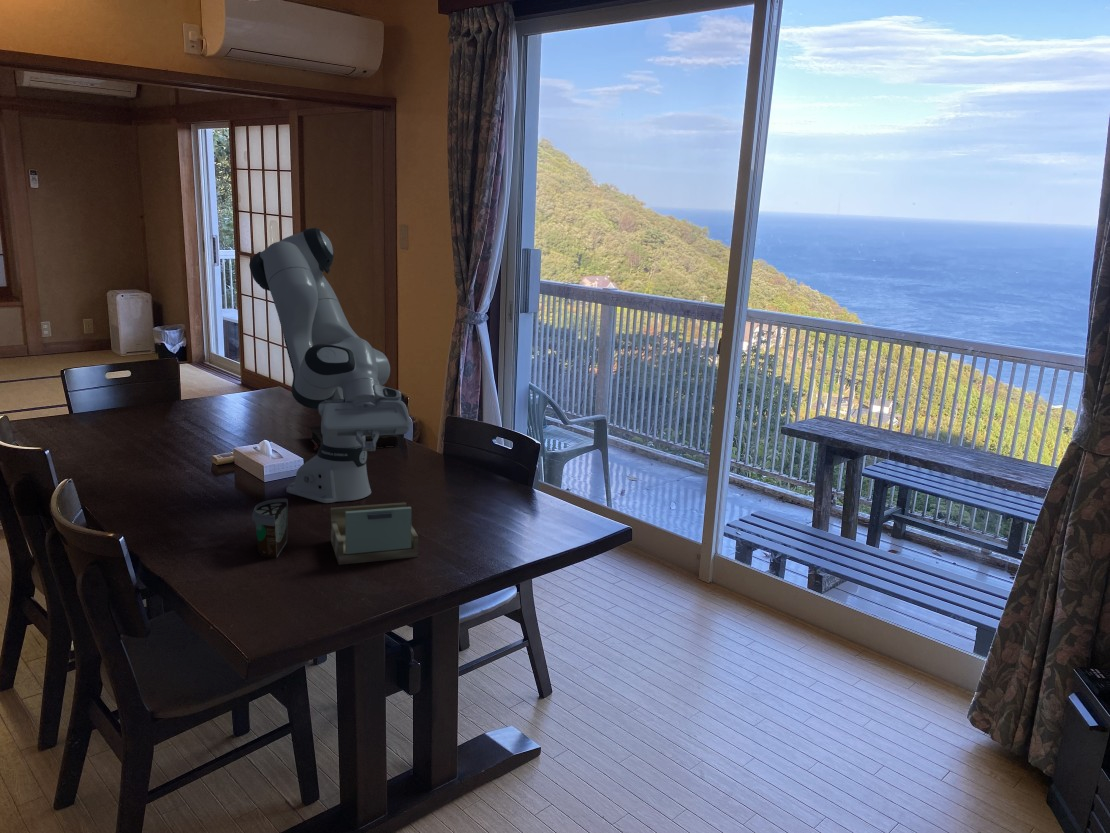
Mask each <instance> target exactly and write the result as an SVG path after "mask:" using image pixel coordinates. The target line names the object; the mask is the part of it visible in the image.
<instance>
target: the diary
mask: <svg viewBox="0 0 1110 833" xmlns="http://www.w3.org/2000/svg"><path fill="white" fill-rule="evenodd" d="M308 428H309V429H310V431H311V435H312V437H311V439H313V440H314V441H315V442H316V443H317V444H319V443H320V442H322V441H323V435H322V433H321V425H315V426H314V425H313V426H311V425H310V426H308ZM398 439H399V438H398V434H395V435H379V437H378V440H377V442H376V448H377V447H386V446H397V447H398V445H399V443H398V442H399V440H398ZM365 441H373V439H372V435H370V436H365Z"/></svg>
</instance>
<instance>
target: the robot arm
mask: <svg viewBox="0 0 1110 833" xmlns="http://www.w3.org/2000/svg"><path fill="white" fill-rule="evenodd" d="M334 256H335V253H334V248H333V245H332V242H331V240H330V239H329V237H328V236H327V235H326V234H325V233H324V232H323V231H322V229H319V228H317V227H311V228H306V229H304V230H303V231H301V232H298V233H295V234H292V235H289V236H286V237H284V238H283V239H280V240H279V241H276V242H273V243H271V244H270V245H268V247H266V248H265V249H264V250H263V251H259V252H257V253H256V254H254V255H253V256H252V257H251V258H250V260H249V263H248V264H249V269H250V274H251V276H252V278H253V281H255V283H256V284H257V285H258V286H259V287H260V288H261V289H263V290H265V291H269V292H270V295H271V298H272V301H273V303H274V306H275V310H276V313H277V316H278V320H279V325H280V326H281V330H282V334H283V340H284V344H285V347H286V351H287V355H288V360H289V362H290V368H291V371H292V383H291V396H292V397H293V399H294V400H295V401H296V402H297V403H299V404H300V405H301V406H303V407H305V408H307V409H312V410H313V409H314V410H316V409H317V410H318V414H319V416H320V417H321V422H320V423H321V424H320V426H321V433H322V435H323V441H322V442H320V443H319V444H317V445H315V446H314V445H313V447H314V448H313V450H314V451H315V450H317V453H316V455H314V456H313V457H311V458H310V459H309V460H307V461H306V462H305V463H303V464H302V465H300V466H299V467H298V469H297V471H296V474H295V480H294V481H292V483H290V484H289V485H287V486H286V493H288V494H291V495H295V496H298V497H302V498H305V499H308V500H312V501H316V502H319V503H323V504H329V503H336V502H337V503H338V502H349V501H357V500H361V499H364V498H366V497H369V496H370V495H371V494H372V489H371V486H370V482H369V477H368V470H367V468H368V467H367V461H368V452H376V442H377V440H378V437H379V435H395V434H396V435H406V434H408V432H409V431H410V428H411V418H410V415H409V411H408V407H407V405H406V403H405V402H403V401H402V392H401V391H400V390H398V389H394V388H390V387H387V386H383V385H385V384H387V382H388V380H389V378H390V374H391V365H390V362H389V359H388V357H387V356H386V355H385V353H383V352H382V351H380V350H378V349H376V348H374V347H372V345H371V344H370V342H369V341H367V340H366V339H363V338H361V337H360V336H359V335H358V334H357V333H356V332H355V331H354V330H353V328H352V327H351V326H350V324H349V321H348V319H347V318H346V315H345V313H344V311H343V308H342V306H341V304H340V301H339V298H338V297H337V295H336V293H335V290H334V289H333V287H332V286H331V284H330V283H329V281H328V279H327V278H326V277H325V275H324V272H325V273H326V274H329V273H330V271H331V268H330V267H331V266H332V264H333V262H334V258H335V257H334ZM370 435H372V439H373V441H365V436H370Z"/></svg>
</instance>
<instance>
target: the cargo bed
mask: <svg viewBox="0 0 1110 833" xmlns="http://www.w3.org/2000/svg"><path fill="white" fill-rule="evenodd" d="M398 507H408V505H407V502H404V501H403V502H394V503H380V504H378V503H377V504H366V505H365V504H364V505H353V506H339V507H338V506H337V507H330V542H331V546H332V548H333V551H334V555H335V558H336V561H337V564H338V565H339V566H340V565H348V564H349V565H350V564H361V563H369V562H380V561H390V560H399V559H411V558H418V557H419V535H418V533H417V532H416V530H415V528H414V527H413V524H411V548H406V549H395V550H385V551H374V552H363V553H353V554H346V552H345V511H358V510H371V509H385V508H398Z"/></svg>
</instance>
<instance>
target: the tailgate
mask: <svg viewBox="0 0 1110 833" xmlns="http://www.w3.org/2000/svg"><path fill="white" fill-rule="evenodd" d="M412 512H413V511H412V507H411V506H407V507H398V508H385V509H371V510H358V511H345V552H346V554H353V553H363V552H374V551H385V550H395V549H406V548H411V525H412V515H413V514H412Z"/></svg>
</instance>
